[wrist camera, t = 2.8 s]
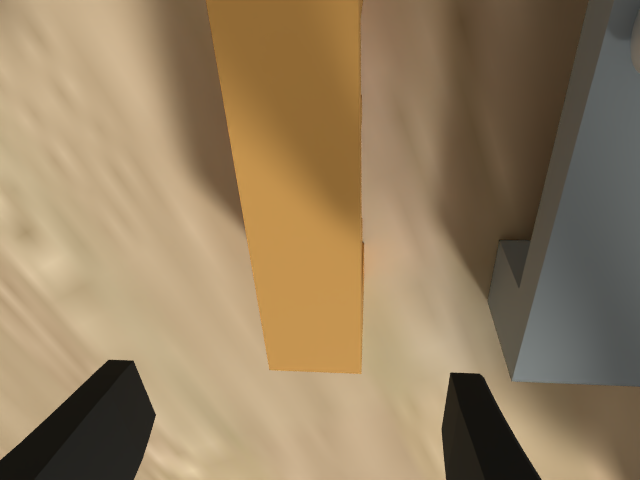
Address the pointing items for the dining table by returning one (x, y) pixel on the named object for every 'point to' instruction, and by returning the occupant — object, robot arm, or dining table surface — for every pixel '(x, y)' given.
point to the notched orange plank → (298, 170)
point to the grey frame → (583, 225)
